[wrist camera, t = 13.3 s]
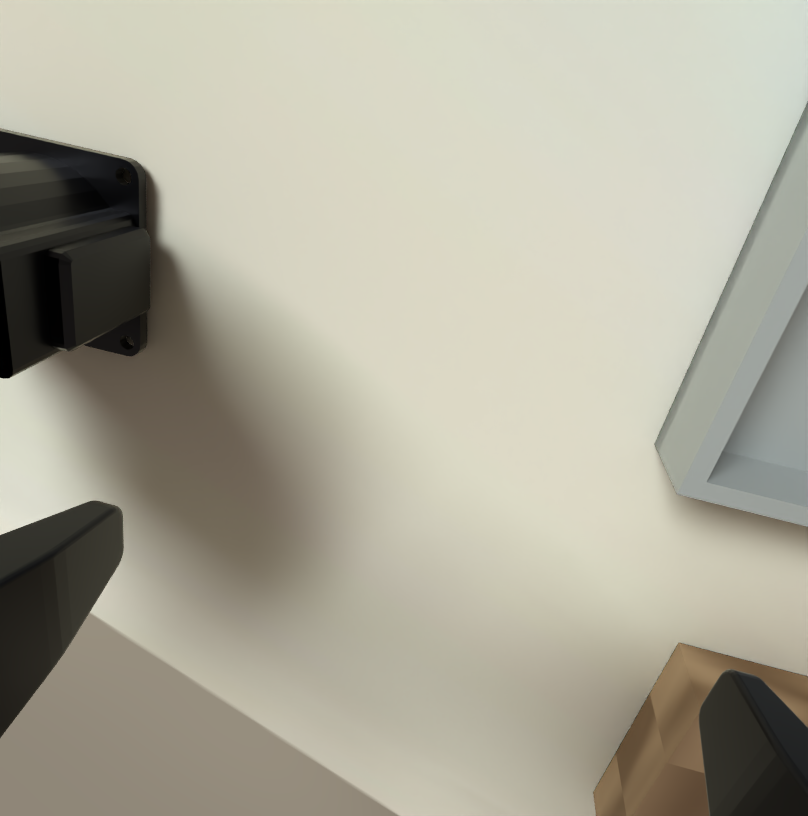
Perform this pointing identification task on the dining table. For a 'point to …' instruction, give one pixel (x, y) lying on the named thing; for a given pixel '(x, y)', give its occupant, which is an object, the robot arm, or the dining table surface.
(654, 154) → the dining table surface
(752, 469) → the tray
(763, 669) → the socket block
